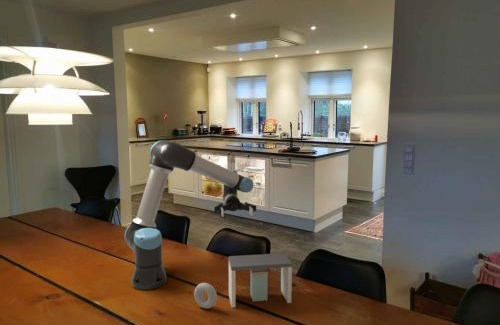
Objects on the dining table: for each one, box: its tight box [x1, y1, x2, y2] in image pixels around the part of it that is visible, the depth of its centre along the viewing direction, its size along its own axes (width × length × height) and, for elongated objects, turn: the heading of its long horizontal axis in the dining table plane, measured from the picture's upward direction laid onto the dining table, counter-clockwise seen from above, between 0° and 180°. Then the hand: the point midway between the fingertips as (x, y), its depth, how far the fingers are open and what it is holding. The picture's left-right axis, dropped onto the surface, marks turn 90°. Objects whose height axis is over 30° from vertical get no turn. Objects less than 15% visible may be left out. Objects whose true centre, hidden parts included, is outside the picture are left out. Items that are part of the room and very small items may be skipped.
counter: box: [228, 252, 293, 308], centre depth 147 cm, size 24×11×16 cm, turn 99°
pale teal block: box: [249, 269, 269, 302], centre depth 148 cm, size 6×6×12 cm
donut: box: [193, 282, 218, 310], centre depth 139 cm, size 10×3×10 cm, turn 63°
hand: (237, 213), depth 165 cm, fingers open, 13 cm apart
